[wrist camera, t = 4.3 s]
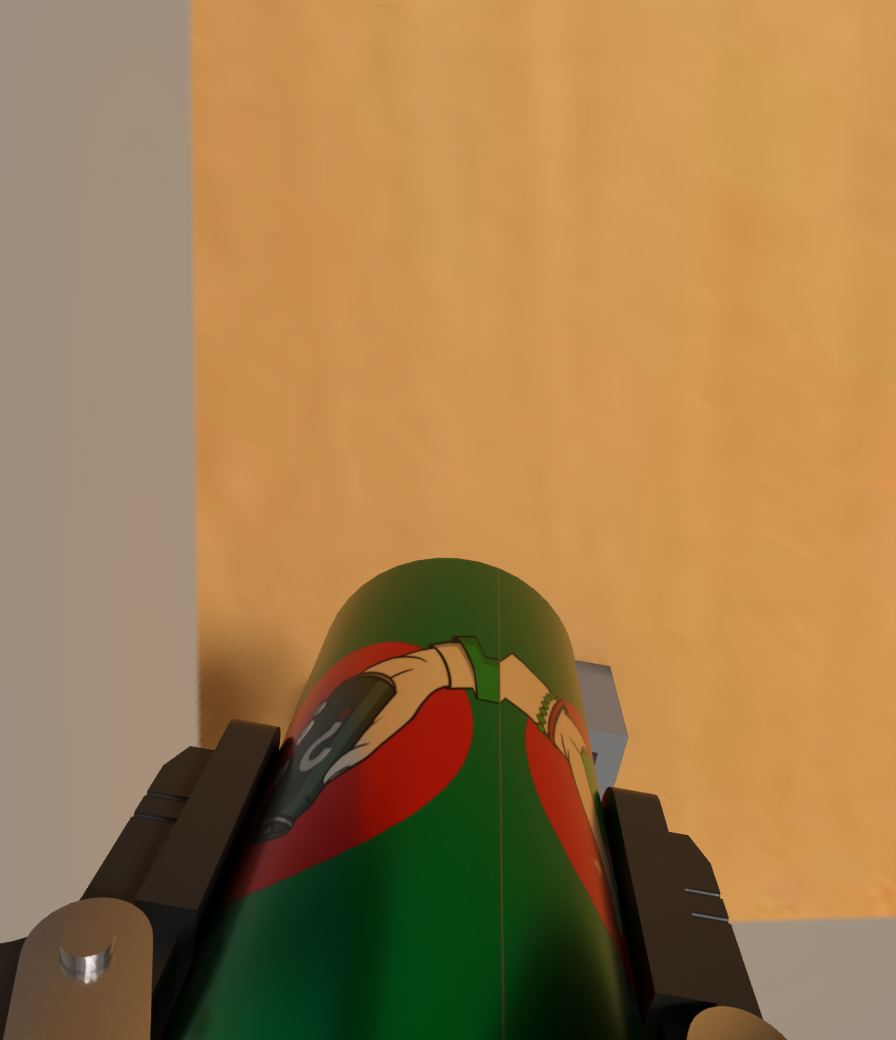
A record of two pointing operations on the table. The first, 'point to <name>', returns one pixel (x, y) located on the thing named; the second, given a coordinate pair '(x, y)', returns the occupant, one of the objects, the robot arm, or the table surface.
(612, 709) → the grey hollow square box
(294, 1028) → the soda can
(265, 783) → the robot arm
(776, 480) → the table surface
